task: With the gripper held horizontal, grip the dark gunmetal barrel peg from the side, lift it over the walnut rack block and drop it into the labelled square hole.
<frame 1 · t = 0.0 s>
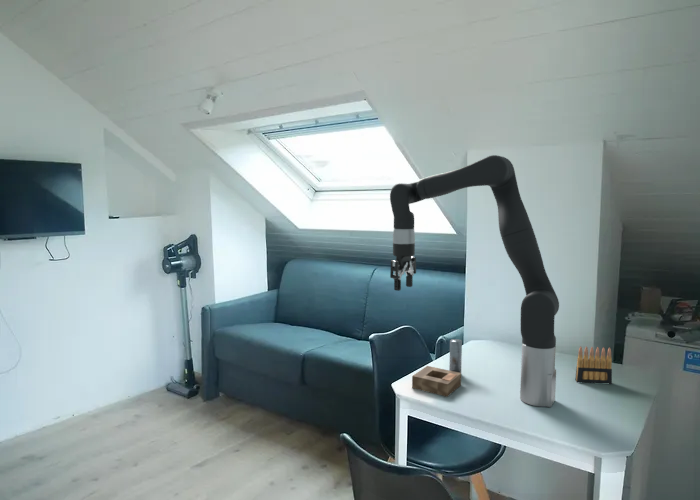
hand: (403, 288, 161), 29 cm above the table, tool pointing down, fingers open, 8 cm apart
ammunition clip: (593, 383, 152), on the table
rack block: (436, 386, 149), on the table
barrel peg: (455, 374, 159), on the table
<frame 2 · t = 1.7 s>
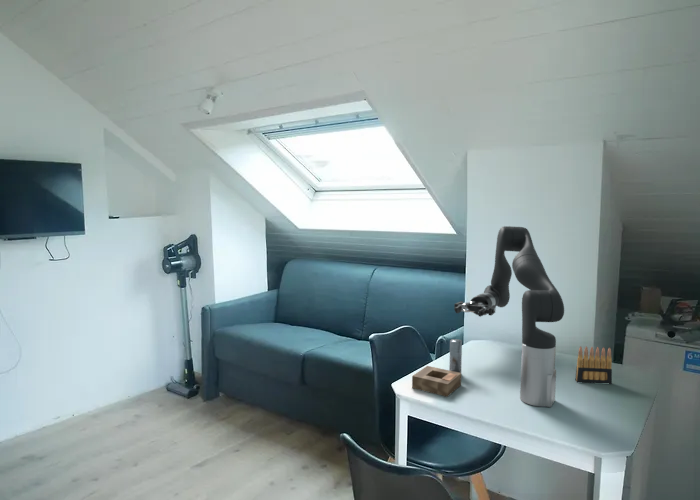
hand: (467, 312, 166), 20 cm above the table, tool horizontal, fingers open, 8 cm apart
nothing on the table moved.
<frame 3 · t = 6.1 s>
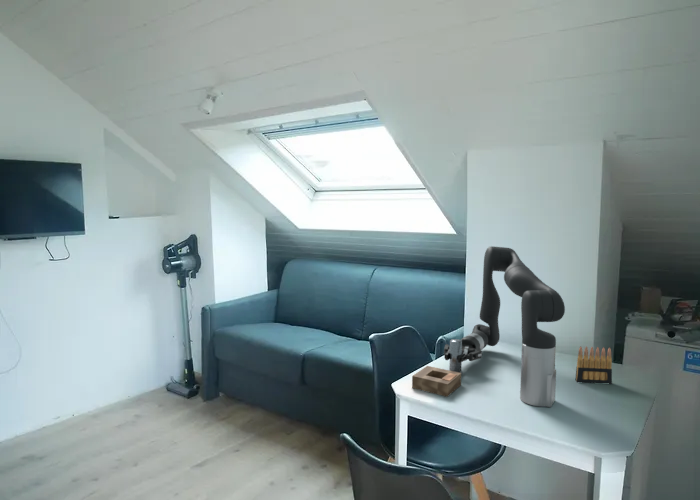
hand: (452, 358, 157), 7 cm above the table, tool horizontal, fingers closed on barrel peg, 4 cm apart
barrel peg: (455, 374, 159), on the table, touching gripper
everything else where it was.
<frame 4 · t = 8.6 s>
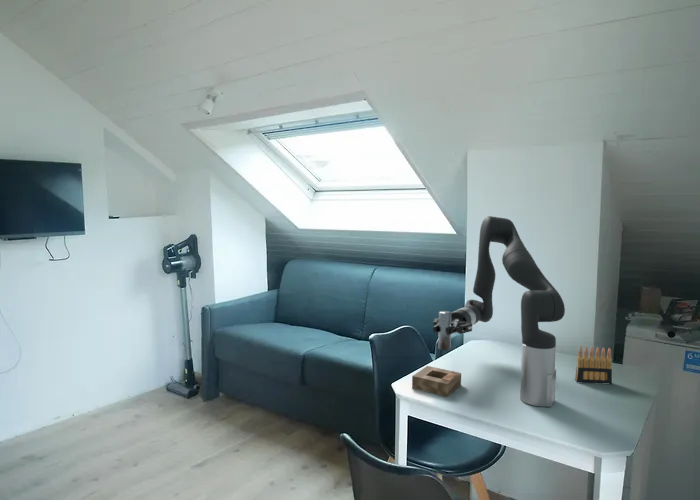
hand: (441, 330, 149), 18 cm above the table, tool horizontal, fingers closed on barrel peg, 4 cm apart
barrel peg: (444, 348, 152), point 11 cm above the table, touching gripper
everything else where it was.
when the fingers open (9 cm above the table, at t = 11.4 s): barrel peg drops 3 cm, resting in rack block.
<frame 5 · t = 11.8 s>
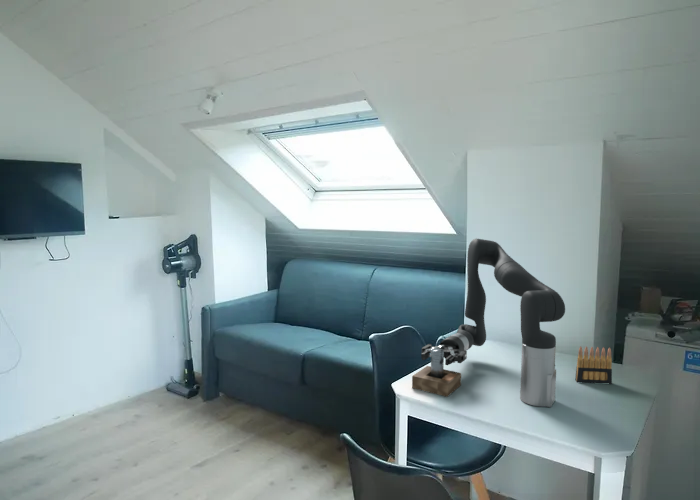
hand: (434, 359, 147), 10 cm above the table, tool horizontal, fingers open, 7 cm apart
barrel peg: (436, 386, 150), resting in rack block
everything else where it was.
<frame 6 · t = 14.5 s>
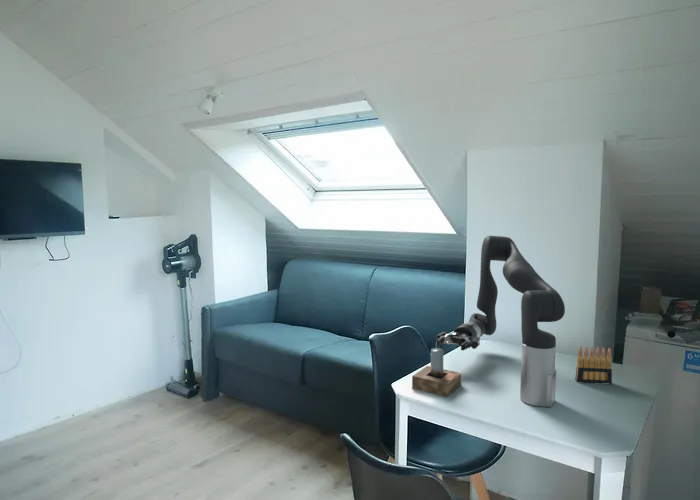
hand: (449, 345, 157), 11 cm above the table, tool horizontal, fingers open, 8 cm apart
nothing on the table moved.
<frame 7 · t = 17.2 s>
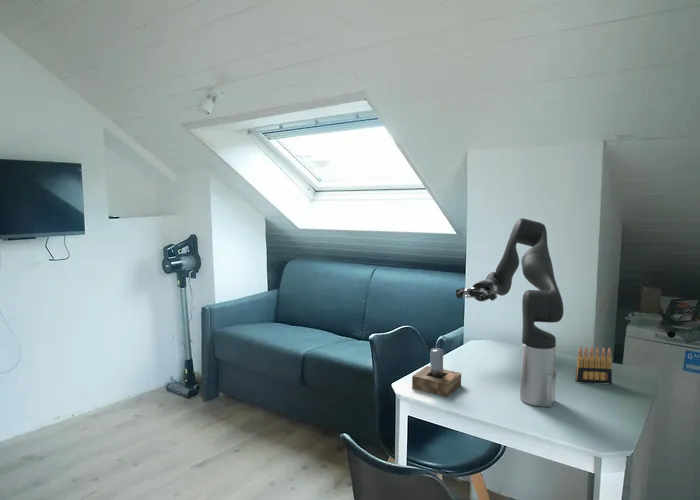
hand: (469, 297, 167), 25 cm above the table, tool horizontal, fingers open, 8 cm apart
nothing on the table moved.
at the end: barrel peg 0.1 cm off-centre on the rack block, point 0.0 cm above the rack block's base; barrel peg tilted 1°; the gripper is holding nothing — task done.
